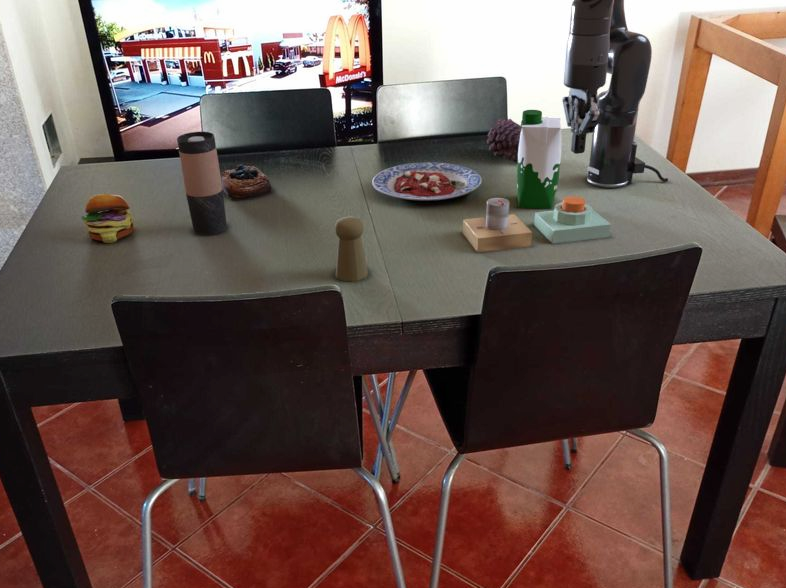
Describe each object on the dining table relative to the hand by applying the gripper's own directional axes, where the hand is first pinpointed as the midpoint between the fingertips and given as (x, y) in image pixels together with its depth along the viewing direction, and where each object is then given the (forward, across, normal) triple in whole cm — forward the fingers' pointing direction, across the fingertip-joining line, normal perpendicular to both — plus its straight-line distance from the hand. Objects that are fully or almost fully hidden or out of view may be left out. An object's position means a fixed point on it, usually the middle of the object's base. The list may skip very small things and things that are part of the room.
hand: (577, 152), depth 147 cm
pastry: (+16, -45, -63) cm, 79 cm away
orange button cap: (+12, 0, 0) cm, 12 cm away
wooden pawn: (+16, +8, -47) cm, 50 cm away
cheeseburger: (+16, -26, -94) cm, 98 cm away
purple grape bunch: (+16, -50, +5) cm, 52 cm away
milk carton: (+16, -17, -1) cm, 23 cm away
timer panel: (+16, 0, -16) cm, 23 cm away
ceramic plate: (+16, -33, -21) cm, 43 cm away
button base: (+16, 0, 0) cm, 16 cm away
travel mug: (+16, -23, -73) cm, 78 cm away
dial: (+13, 0, -16) cm, 21 cm away
